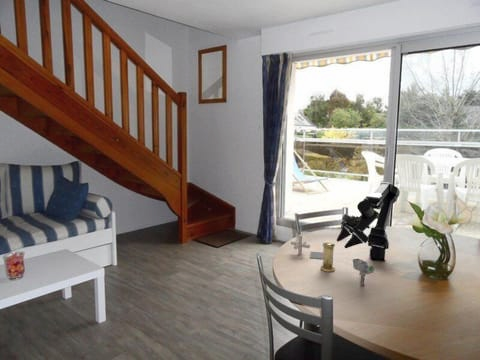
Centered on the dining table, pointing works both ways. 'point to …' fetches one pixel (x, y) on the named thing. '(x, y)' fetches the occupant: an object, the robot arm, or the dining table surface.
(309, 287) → the dining table surface
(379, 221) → the robot arm
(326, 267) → the brass pedestal cup
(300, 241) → the pipe connector
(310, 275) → the dining table surface
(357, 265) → the grey mottled tree figurine
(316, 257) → the mat
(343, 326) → the dining table surface
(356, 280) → the dining table surface
